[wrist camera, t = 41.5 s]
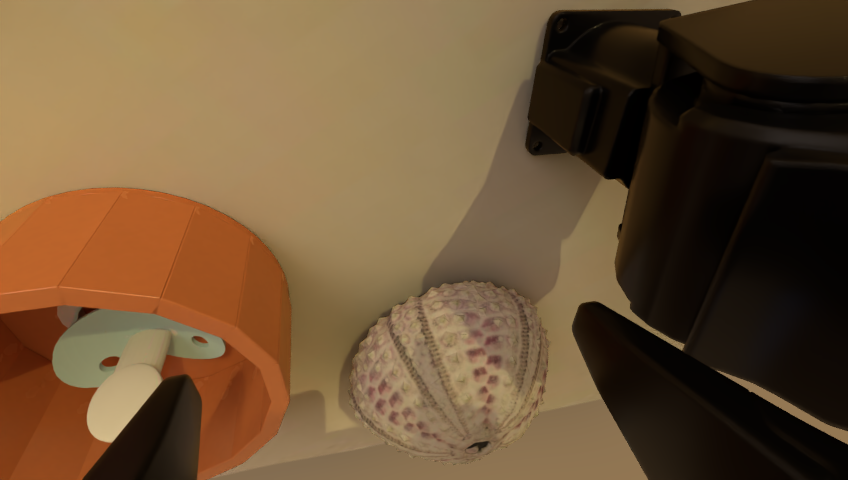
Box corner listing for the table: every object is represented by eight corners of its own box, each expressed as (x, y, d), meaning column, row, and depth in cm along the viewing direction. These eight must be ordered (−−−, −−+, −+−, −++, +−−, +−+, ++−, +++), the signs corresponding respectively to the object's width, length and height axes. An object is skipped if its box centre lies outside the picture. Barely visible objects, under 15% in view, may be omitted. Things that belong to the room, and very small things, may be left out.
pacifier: (29, 282, 19) (103, 364, 22) (-72, 403, 14) (45, 483, 17) (196, 247, 20) (241, 331, 23) (160, 347, 15) (224, 434, 18)
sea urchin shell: (555, 261, 27) (633, 359, 21) (498, 386, 34) (543, 486, 28) (353, 263, 23) (375, 386, 17) (339, 405, 30) (349, 526, 24)
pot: (261, 172, 19) (247, 261, 13) (306, 360, 27) (307, 459, 22) (-109, 205, 16) (-302, 332, 11) (67, 403, 24) (4, 529, 19)
